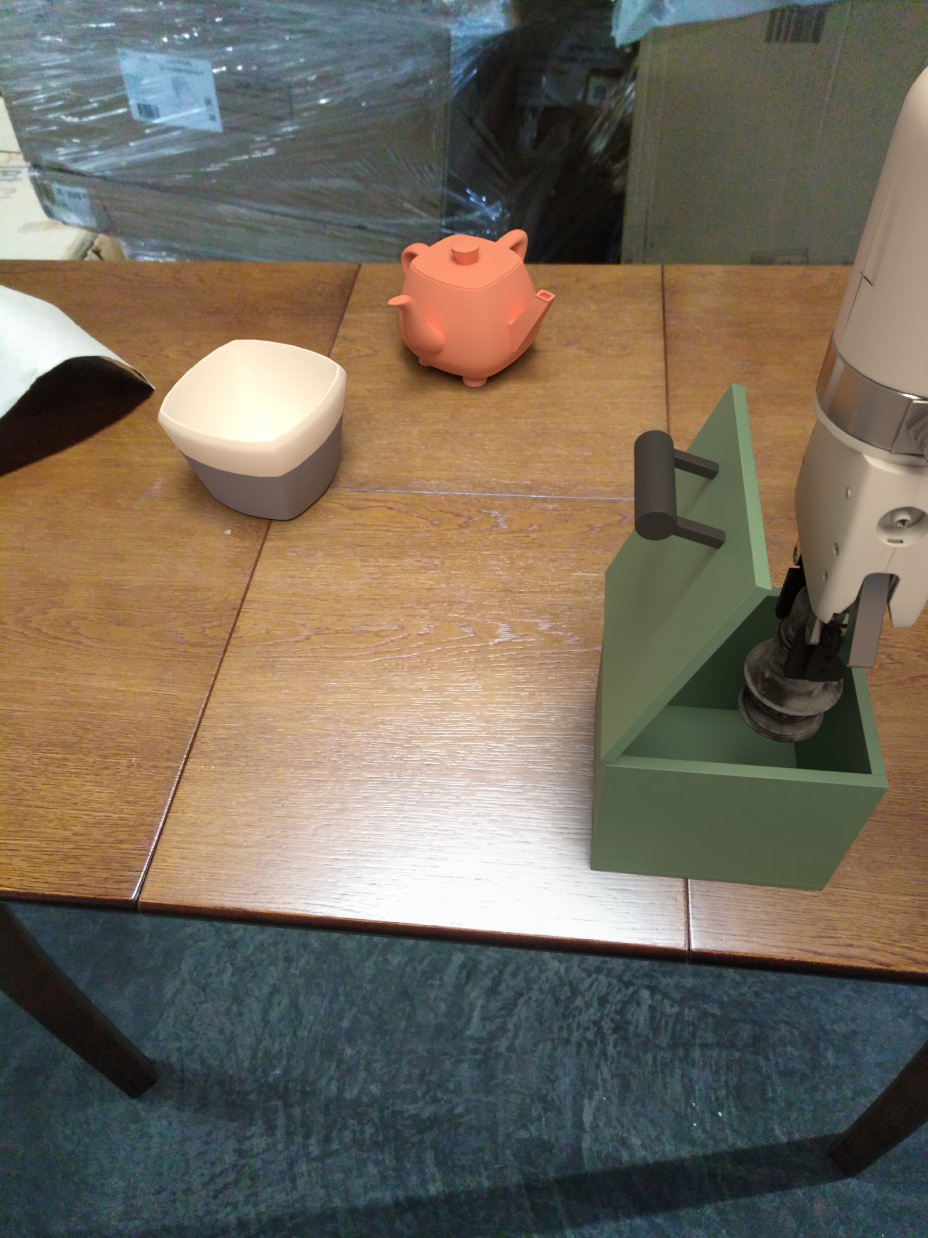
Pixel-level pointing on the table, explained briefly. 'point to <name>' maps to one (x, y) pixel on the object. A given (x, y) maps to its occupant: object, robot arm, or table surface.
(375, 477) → the table surface
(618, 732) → the lid
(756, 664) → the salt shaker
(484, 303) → the teapot
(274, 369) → the bowl
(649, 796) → the chest
